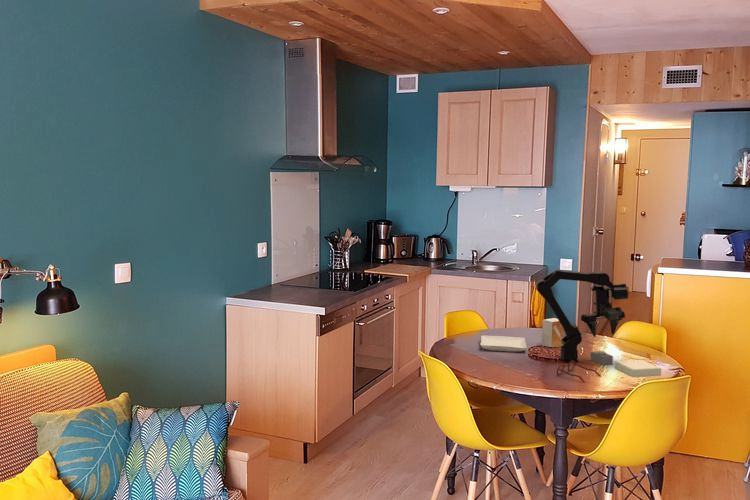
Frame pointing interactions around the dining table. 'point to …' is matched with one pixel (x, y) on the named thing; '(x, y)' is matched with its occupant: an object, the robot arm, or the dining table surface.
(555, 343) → the small box
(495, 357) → the dining table surface
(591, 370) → the glasses
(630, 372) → the stand
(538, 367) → the dining table surface
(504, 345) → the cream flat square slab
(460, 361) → the dining table surface
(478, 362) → the dining table surface
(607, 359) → the block
